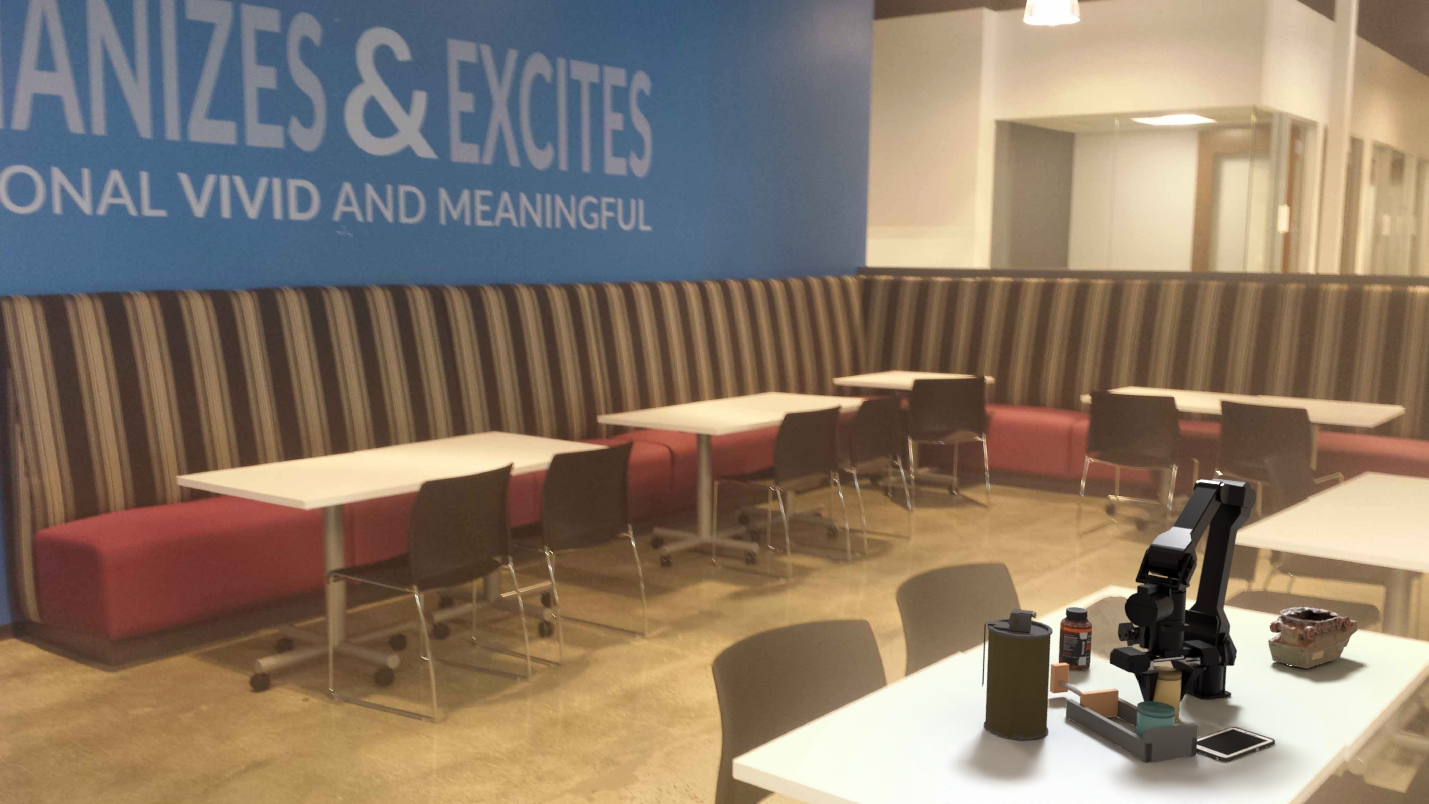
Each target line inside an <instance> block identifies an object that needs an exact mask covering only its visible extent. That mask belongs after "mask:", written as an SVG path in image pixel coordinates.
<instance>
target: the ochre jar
mask: <svg viewBox="0 0 1429 804" xmlns="http://www.w3.org/2000/svg"><path fill="white" fill-rule="evenodd" d="M1153 670H1155V671H1157V672H1159V675H1158V680H1157V685H1156V689H1155V694H1154V699H1153V701H1155V702H1161V703H1166V704H1169V705H1171V706H1173V707H1174V708H1175V719H1174V723H1175V722H1178V721H1179V720H1180V711H1181V710H1180V707H1181V702H1180V695H1181V678H1182V672H1181V671H1180V670H1178V669H1175V668H1173V667H1172V666H1166V665H1154V667H1153Z"/></svg>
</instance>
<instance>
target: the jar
mask: <svg viewBox="0 0 1429 804" xmlns="http://www.w3.org/2000/svg"><path fill="white" fill-rule="evenodd" d="M1136 706H1137V727H1135V728H1136V730H1135V734H1137V735H1138V736H1140V737H1142V738H1143V729H1148V728H1156V727H1164V726H1172V725H1175V722H1174V719H1175V708H1174V707H1173V706H1171V705H1169V704H1166V703H1161V702H1155V701H1144V700H1143V701H1140V702H1138V703H1137V704H1136Z"/></svg>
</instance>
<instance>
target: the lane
mask: <svg viewBox="0 0 1429 804" xmlns="http://www.w3.org/2000/svg"><path fill="white" fill-rule="evenodd" d="M1065 717H1066V718H1067V719H1070V721H1073V722H1074V723H1076V724H1078V725H1079V726H1081V727H1084V728H1085V729H1086V730H1089V731H1091V732H1092V733H1094V734H1095V735H1097V736H1099V737H1101V738H1103V739H1104V740H1106V741H1108V742H1109V743H1111V744H1113V745H1114V746H1117V747H1118V748H1120V749H1122V750H1124V751H1125V752H1127V753H1129V754H1131V755H1132V756H1134V757H1136V758H1137V759H1139V760H1141V761H1142V762H1144V763H1153V762H1159V761H1168V760H1175V759H1183V758H1189V757H1190V758H1191V757H1196V756H1197V753H1196V751H1197V738H1198V732H1199V731H1198V730H1199V729H1198V728H1199V725H1198V724H1197V723H1194V722H1190V723H1181V724H1174V725H1172V726H1164V727H1156V728H1148V729H1143V738H1142V737H1140V736H1138V735H1137V734H1136V732H1135V733H1134V732H1133V731H1131V730H1129V729H1127V728H1126V727H1124V726H1122V725H1120V724H1118V723H1117V722H1115V721H1113V720H1110V719H1109V718H1108V717H1104V716H1102V715H1100V714H1098V713H1096V712H1094V711H1093V710H1091V709H1089V708H1087V707H1085V706H1083V705H1082V704H1080V702H1078V701H1076V700H1074V699H1073V698H1069V699H1066V706H1065ZM1115 717H1116V718H1119V719H1121V720H1122V721H1124V722H1126V723H1128V724H1129V725H1131V726H1133V727H1135V728H1136V727H1137V705H1135V704H1133V703H1130V702H1129V701H1128V700H1125V699H1123V698H1121V697H1119V696H1118V714H1117V716H1115Z"/></svg>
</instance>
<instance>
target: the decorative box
mask: <svg viewBox="0 0 1429 804" xmlns="http://www.w3.org/2000/svg"><path fill="white" fill-rule="evenodd" d="M1279 613H1280V616H1278V617H1277V619H1276V620H1275V621H1271V623H1270V625H1269V630H1270V632H1272V633H1273V634H1275V633H1276V635H1275V636H1274V637H1272V638H1269V639H1268V641H1267V642H1268V648H1269V651H1270V655H1271V660H1272V662H1275V661H1276V663H1280V662H1281V664H1284V663H1285V664H1284V665H1287V664H1288V665H1292V666H1294V667H1299V668H1303V669H1309V668H1312V667H1315V665H1316V666H1319V664H1320V665H1323V664H1325V663H1327V662H1331V661H1336V660H1339V659H1340V658H1341V655H1342V654H1343V652H1344V649H1345V648H1347V646H1348V644H1349V642H1350V640H1351V639H1350V638H1351V637H1352V636H1353V635H1354V634H1355V633H1356V632H1358V630H1359V629H1358V621H1357V620H1354V619H1353V620H1352V619H1351V618H1350V616H1341V615H1340V614H1338V613H1337V612H1334V611H1330V610H1328V609H1327V610H1326V609H1324V608H1317V607H1312V606H1303V605H1302V606H1299V605H1298V606H1289V607H1286V608H1282V609H1281V610H1279ZM1322 663H1323V664H1322ZM1288 665H1287V666H1288Z"/></svg>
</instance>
